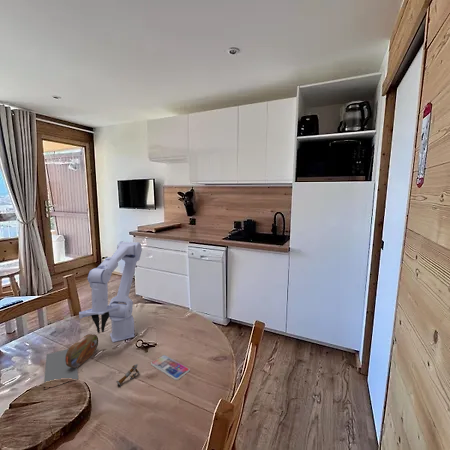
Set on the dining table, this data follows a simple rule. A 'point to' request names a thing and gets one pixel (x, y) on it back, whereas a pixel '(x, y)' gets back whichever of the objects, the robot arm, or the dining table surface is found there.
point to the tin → (81, 350)
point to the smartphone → (170, 367)
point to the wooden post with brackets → (128, 374)
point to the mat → (58, 367)
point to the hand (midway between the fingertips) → (100, 331)
